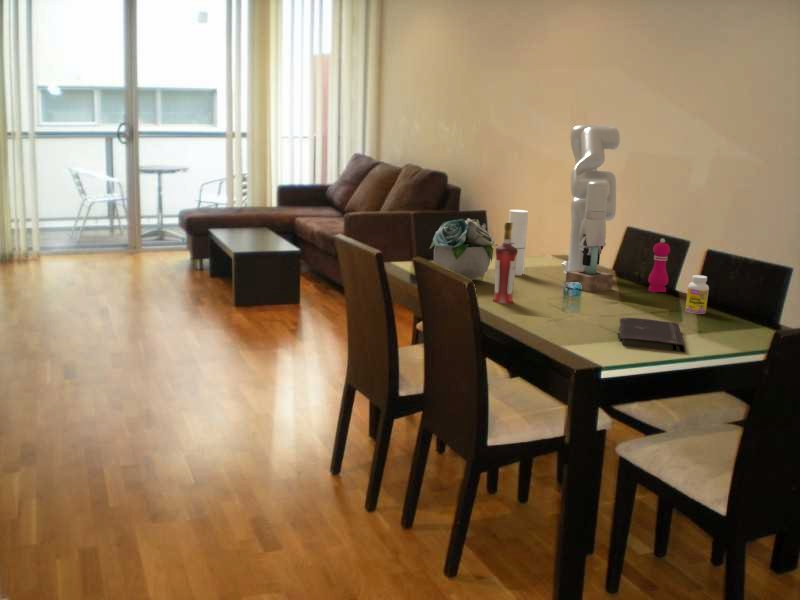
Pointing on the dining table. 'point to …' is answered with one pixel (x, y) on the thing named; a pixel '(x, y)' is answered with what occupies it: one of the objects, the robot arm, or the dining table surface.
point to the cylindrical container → (519, 236)
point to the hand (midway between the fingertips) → (590, 264)
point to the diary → (650, 334)
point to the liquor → (505, 268)
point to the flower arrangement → (463, 247)
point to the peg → (592, 261)
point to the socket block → (591, 280)
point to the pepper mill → (659, 268)
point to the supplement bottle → (697, 295)
